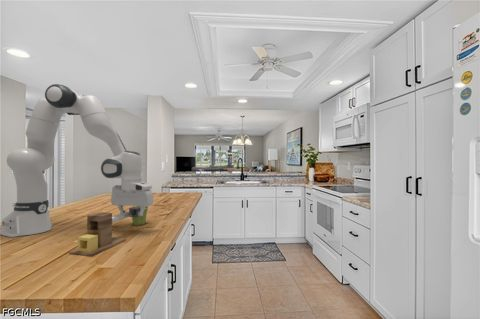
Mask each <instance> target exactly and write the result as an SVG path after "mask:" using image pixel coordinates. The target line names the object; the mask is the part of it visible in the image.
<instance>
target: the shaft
mask: <svg viewBox="0 0 480 319" xmlns="http://www.w3.org/2000/svg"><path fill="white" fill-rule="evenodd" d="M131 207H132V208H131ZM131 207H129V209H128V211H127V212H126V211H125V213H123V214H118V215H117V214H116V215H114V216H113V215H112V223H115V222H118V221H120V220H123V219H126V218H132V217H139V216H138V212H140V208H138V207H136V206H131ZM96 225H97V226H98V222H97V223H96Z"/></svg>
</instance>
